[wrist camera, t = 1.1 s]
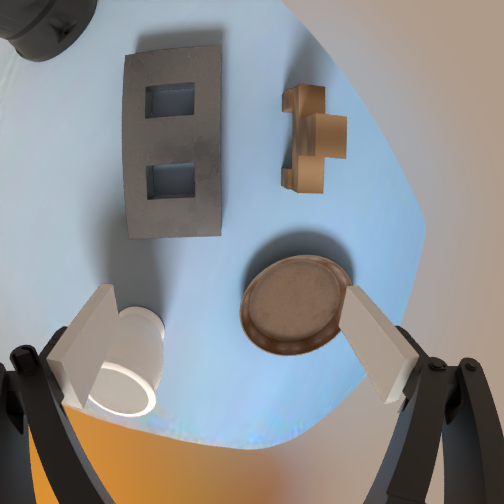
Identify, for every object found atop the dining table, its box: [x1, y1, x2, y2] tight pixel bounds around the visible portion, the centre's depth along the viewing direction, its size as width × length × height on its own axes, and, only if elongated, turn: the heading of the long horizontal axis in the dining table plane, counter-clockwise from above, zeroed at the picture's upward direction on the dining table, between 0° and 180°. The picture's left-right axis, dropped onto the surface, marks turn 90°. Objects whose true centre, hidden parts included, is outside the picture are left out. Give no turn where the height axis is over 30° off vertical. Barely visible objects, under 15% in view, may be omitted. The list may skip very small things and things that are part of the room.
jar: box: [88, 307, 165, 417], centre depth 36 cm, size 11×10×15 cm
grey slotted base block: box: [122, 46, 222, 239], centre depth 32 cm, size 24×12×4 cm, turn 0°
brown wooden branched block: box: [281, 84, 347, 193], centre depth 30 cm, size 12×4×13 cm, turn 0°
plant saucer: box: [240, 255, 353, 356], centre depth 43 cm, size 18×18×3 cm
